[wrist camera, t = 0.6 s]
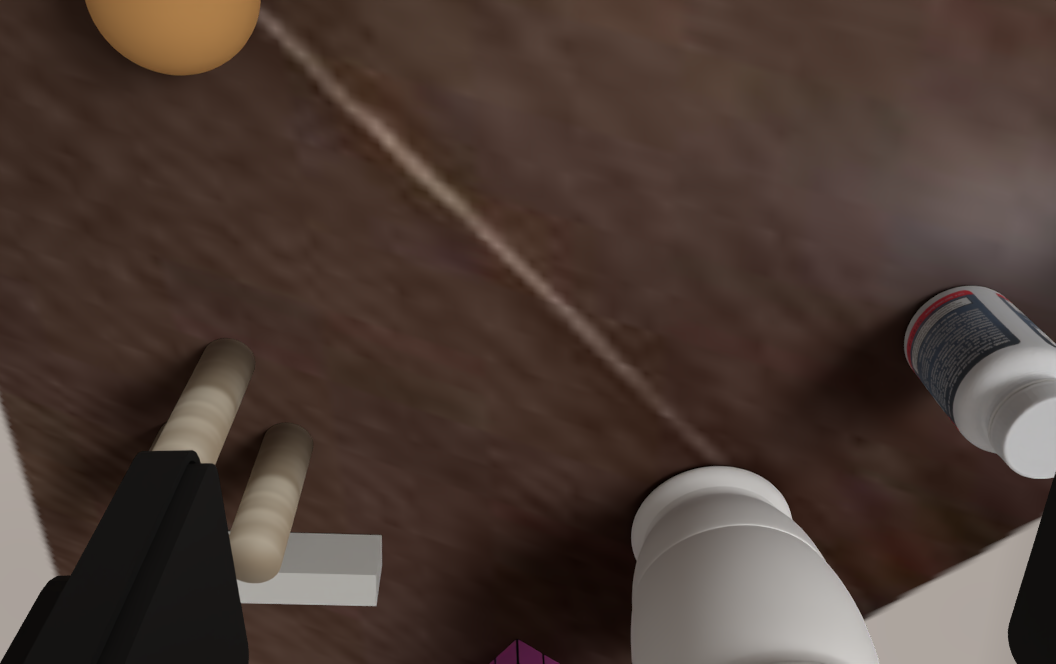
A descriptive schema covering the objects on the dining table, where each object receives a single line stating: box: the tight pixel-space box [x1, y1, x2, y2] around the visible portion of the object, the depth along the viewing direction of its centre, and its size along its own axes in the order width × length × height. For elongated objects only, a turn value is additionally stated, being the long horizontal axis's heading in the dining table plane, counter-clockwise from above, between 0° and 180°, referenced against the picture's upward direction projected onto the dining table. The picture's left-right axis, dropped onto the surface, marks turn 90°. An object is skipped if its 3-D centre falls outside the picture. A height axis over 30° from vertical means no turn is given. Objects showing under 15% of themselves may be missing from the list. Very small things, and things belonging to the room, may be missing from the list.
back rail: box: [228, 531, 382, 606], centre depth 50 cm, size 2×12×3 cm, turn 86°
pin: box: [229, 423, 313, 583], centre depth 44 cm, size 2×2×8 cm
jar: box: [631, 466, 880, 664], centre depth 45 cm, size 11×10×15 cm
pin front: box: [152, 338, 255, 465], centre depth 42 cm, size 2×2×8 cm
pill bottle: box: [904, 286, 1056, 479], centre depth 43 cm, size 5×5×9 cm
